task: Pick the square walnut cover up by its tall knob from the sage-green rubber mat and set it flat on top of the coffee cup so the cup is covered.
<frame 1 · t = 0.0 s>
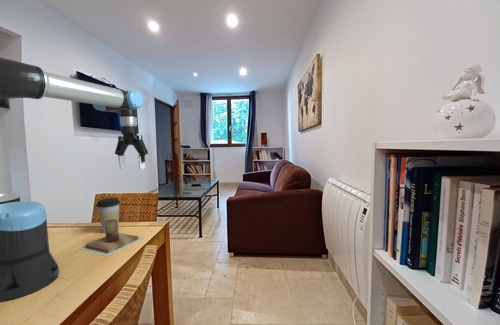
hand: (132, 168, 113), 28 cm above the table, tool pointing down, fingers open, 13 cm apart
coffee cup: (110, 232, 104), on the table
rubber mat: (113, 244, 90), on the table
walnut cover: (112, 243, 90), resting on rubber mat
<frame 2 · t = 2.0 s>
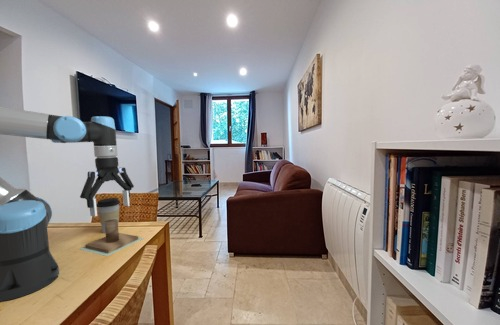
hand: (111, 210, 89), 14 cm above the table, tool pointing down, fingers open, 13 cm apart
nothing on the table moved.
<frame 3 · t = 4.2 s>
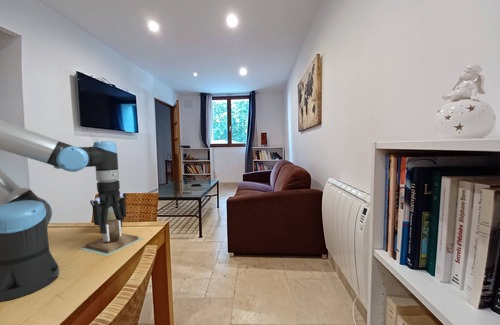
hand: (112, 238, 90), 3 cm above the table, tool pointing down, fingers closed on walnut cover, 4 cm apart
walnut cover: (112, 243, 90), resting on rubber mat, touching gripper
everything else where it was.
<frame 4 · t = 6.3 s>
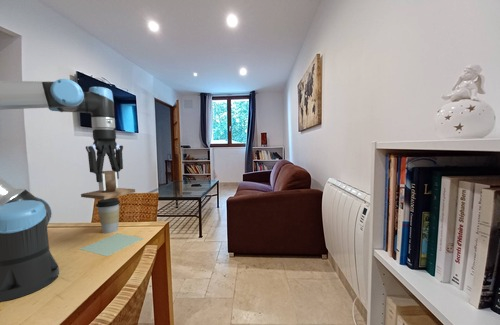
hand: (108, 188, 88), 23 cm above the table, tool pointing down, fingers closed on walnut cover, 4 cm apart
walnut cover: (109, 194, 88), point 20 cm above the table, touching gripper
everything else where it was.
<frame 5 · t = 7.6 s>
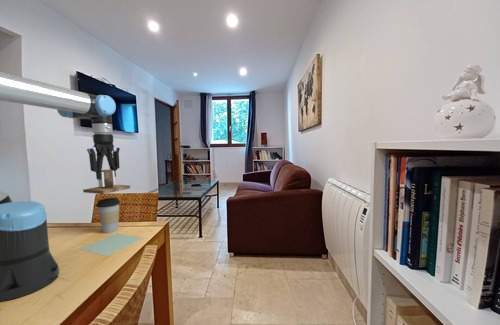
hand: (107, 185, 102), 22 cm above the table, tool pointing down, fingers closed on walnut cover, 4 cm apart
walnut cover: (107, 190, 102), point 20 cm above the table, touching gripper
everything else where it was.
when the fingers open (19 cm above the table, at t = 8.7 s): walnut cover drops 1 cm, resting on coffee cup.
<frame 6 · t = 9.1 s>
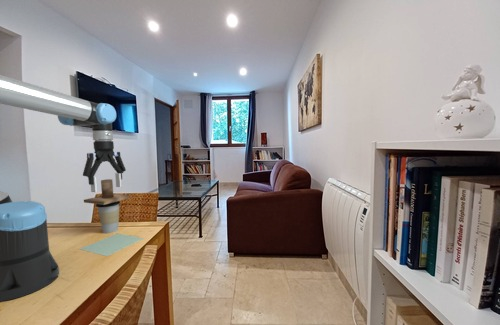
hand: (107, 189, 102), 20 cm above the table, tool pointing down, fingers open, 11 cm apart
coffee cup: (110, 232, 104), on the table, touching walnut cover
walnut cover: (108, 200, 102), point 15 cm above the table, touching coffee cup
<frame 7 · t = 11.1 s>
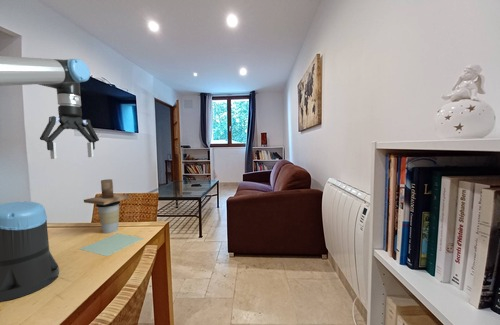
hand: (73, 158, 93), 35 cm above the table, tool pointing down, fingers open, 13 cm apart
nothing on the table moved.
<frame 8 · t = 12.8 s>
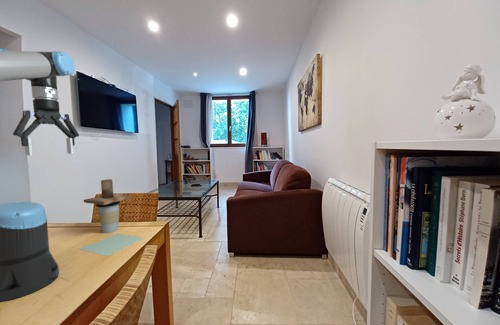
hand: (51, 154, 89), 37 cm above the table, tool pointing down, fingers open, 13 cm apart
nothing on the table moved.
at the end: walnut cover 0.1 cm off-centre on the coffee cup, point 15.2 cm above the coffee cup's base; walnut cover touching coffee cup; coffee cup tilted 0° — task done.
